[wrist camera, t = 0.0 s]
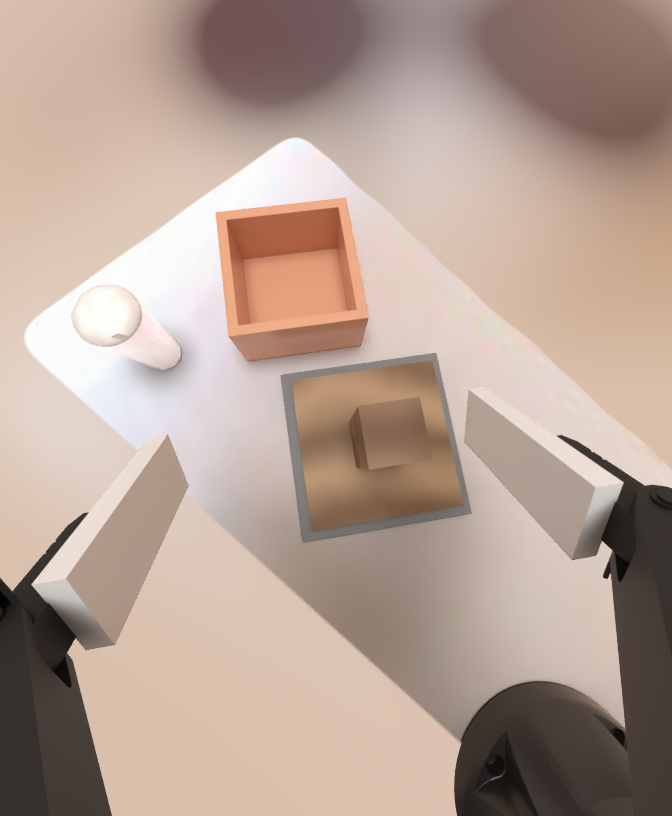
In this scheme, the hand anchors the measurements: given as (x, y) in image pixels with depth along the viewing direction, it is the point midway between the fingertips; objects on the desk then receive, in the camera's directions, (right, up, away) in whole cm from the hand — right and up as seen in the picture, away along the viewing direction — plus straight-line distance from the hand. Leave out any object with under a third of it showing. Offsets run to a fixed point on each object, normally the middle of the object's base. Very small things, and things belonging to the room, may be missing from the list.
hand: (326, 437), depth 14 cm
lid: (+4, -2, +15) cm, 15 cm away
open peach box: (-3, +12, +18) cm, 21 cm away
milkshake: (-16, +6, +16) cm, 23 cm away
